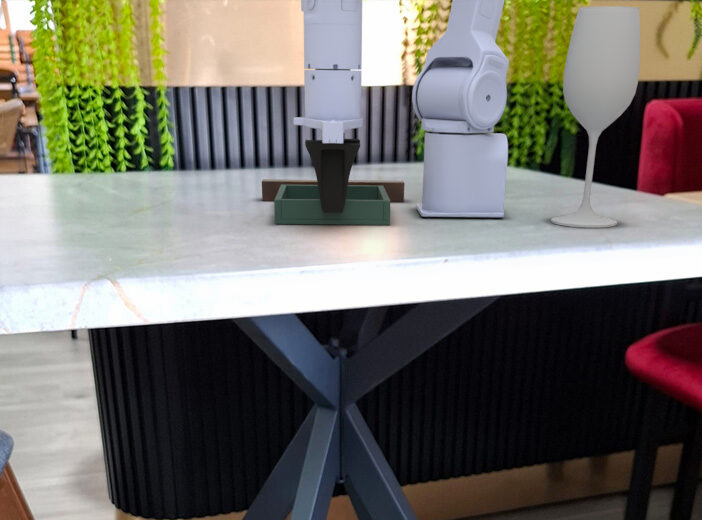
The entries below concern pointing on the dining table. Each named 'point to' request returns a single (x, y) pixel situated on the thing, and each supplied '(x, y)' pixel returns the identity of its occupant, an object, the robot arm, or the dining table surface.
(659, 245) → the dining table surface
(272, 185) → the bar
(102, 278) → the dining table surface
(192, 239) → the dining table surface
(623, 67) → the wineglass
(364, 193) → the tray
